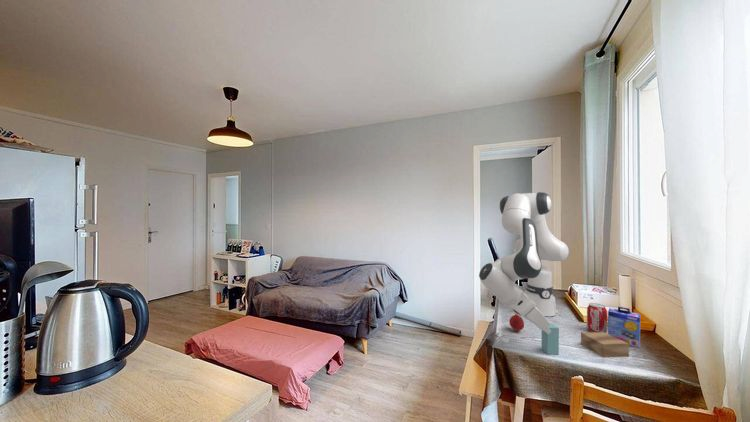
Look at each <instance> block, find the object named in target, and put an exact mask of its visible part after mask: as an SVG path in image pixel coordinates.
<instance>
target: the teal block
mask: <svg viewBox="0 0 750 422" xmlns="http://www.w3.org/2000/svg"><path fill="white" fill-rule="evenodd" d="M548 328H549V329H550V330H551V332H550V333H549V334H547V333H546V332H545V331H543V330H541V350H542V352H544V353H545V354H546V355H547V356H548V355H550V356H560V354H559V353H560V352H559V351H560V350H559V349H560V345H559V344H560V343H559V342H560V340H559V339H560V336H559V335H560V328H559V327H558V326H557V325H555V324H554V323H550V325H549V326H548Z"/></svg>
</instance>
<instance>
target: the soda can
mask: <svg viewBox="0 0 750 422" xmlns="http://www.w3.org/2000/svg"><path fill="white" fill-rule="evenodd" d="M586 309H587V310H586V327H587V330H588V331H590V332H605V333H607V334H608V310H607V308H606V305H603V304H601V303H596V302H589V303H588V305H587V308H586Z"/></svg>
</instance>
